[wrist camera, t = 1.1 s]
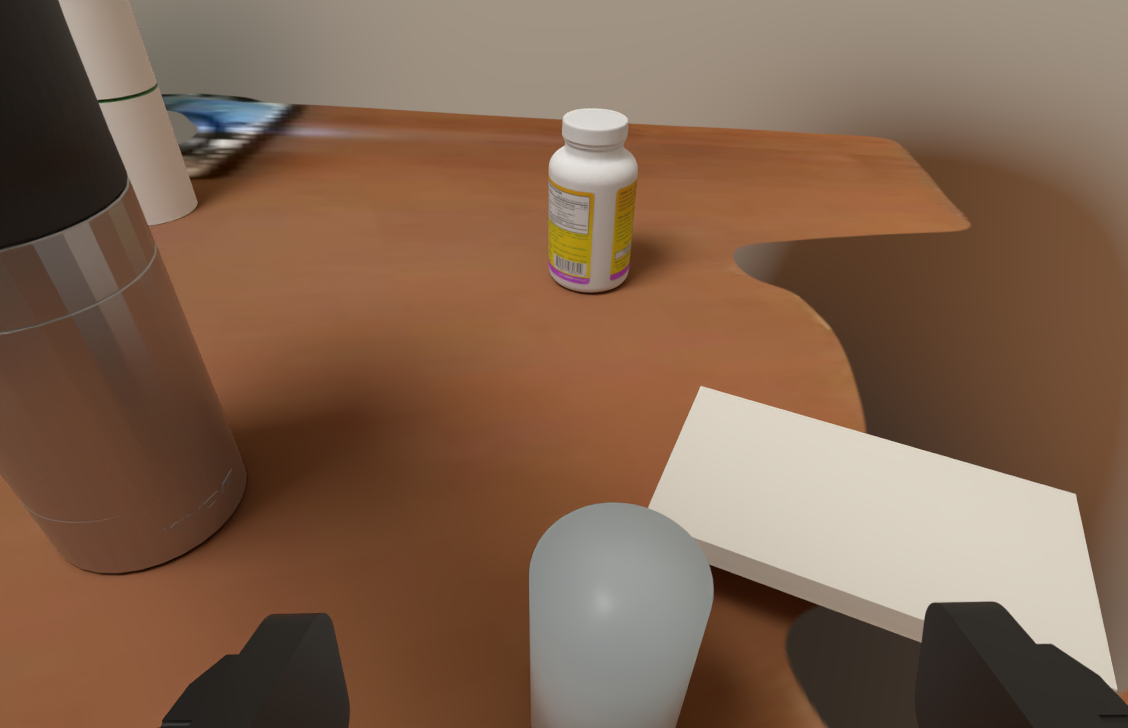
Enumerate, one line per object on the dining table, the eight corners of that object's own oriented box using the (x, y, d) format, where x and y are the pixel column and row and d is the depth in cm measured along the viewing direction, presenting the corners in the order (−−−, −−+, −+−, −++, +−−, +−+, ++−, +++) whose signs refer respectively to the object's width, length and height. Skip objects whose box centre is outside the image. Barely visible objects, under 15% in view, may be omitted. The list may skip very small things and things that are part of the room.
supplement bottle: (617, 252, 58) (630, 101, 50) (637, 292, 53) (655, 132, 45) (541, 257, 57) (542, 104, 49) (554, 299, 52) (557, 136, 44)
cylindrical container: (147, 188, 66) (25, -126, 50) (213, 196, 65) (110, -122, 49) (94, 221, 60) (-62, -121, 44) (165, 229, 59) (32, -116, 43)
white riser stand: (632, 583, 32) (642, 519, 29) (687, 449, 40) (700, 385, 37) (1050, 747, 27) (1117, 689, 24) (1026, 557, 34) (1075, 494, 31)
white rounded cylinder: (506, 768, 26) (495, 616, 19) (564, 644, 30) (572, 481, 23) (642, 838, 24) (684, 699, 17) (684, 696, 28) (732, 537, 21)
